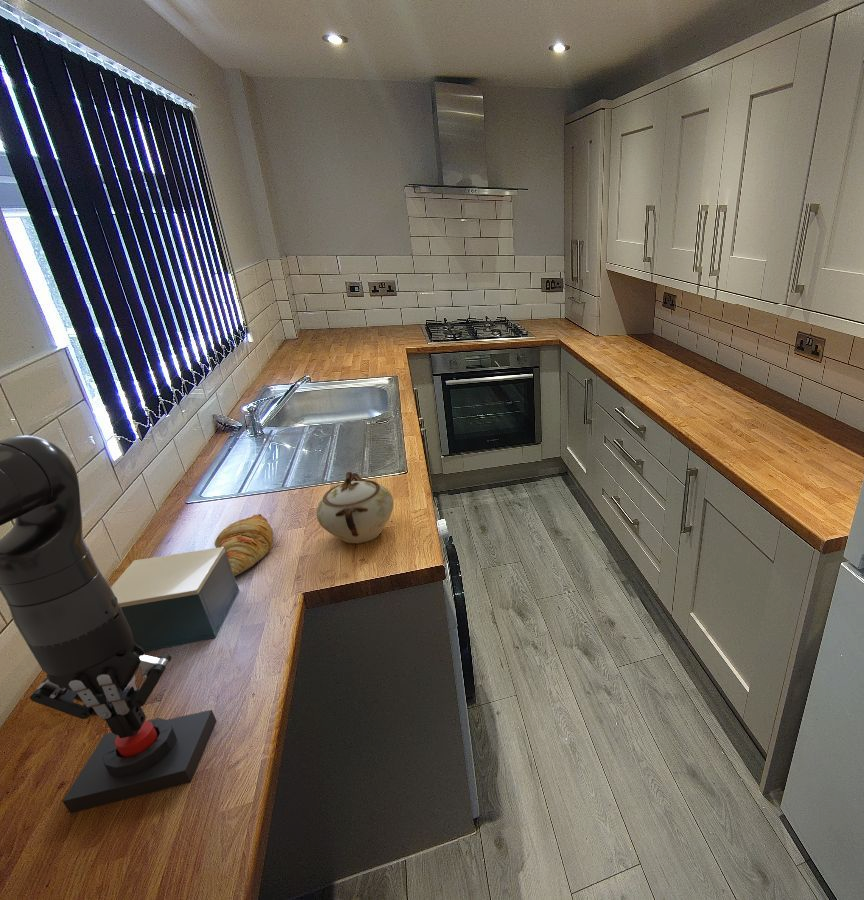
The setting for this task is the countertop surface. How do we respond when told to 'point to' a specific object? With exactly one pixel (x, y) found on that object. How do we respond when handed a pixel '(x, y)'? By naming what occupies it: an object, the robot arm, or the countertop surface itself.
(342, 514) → the sugar bowl
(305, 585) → the countertop surface
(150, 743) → the button
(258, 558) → the croissant
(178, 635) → the dark rectangular box
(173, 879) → the countertop surface
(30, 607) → the robot arm
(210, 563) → the box lid
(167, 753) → the switch block
